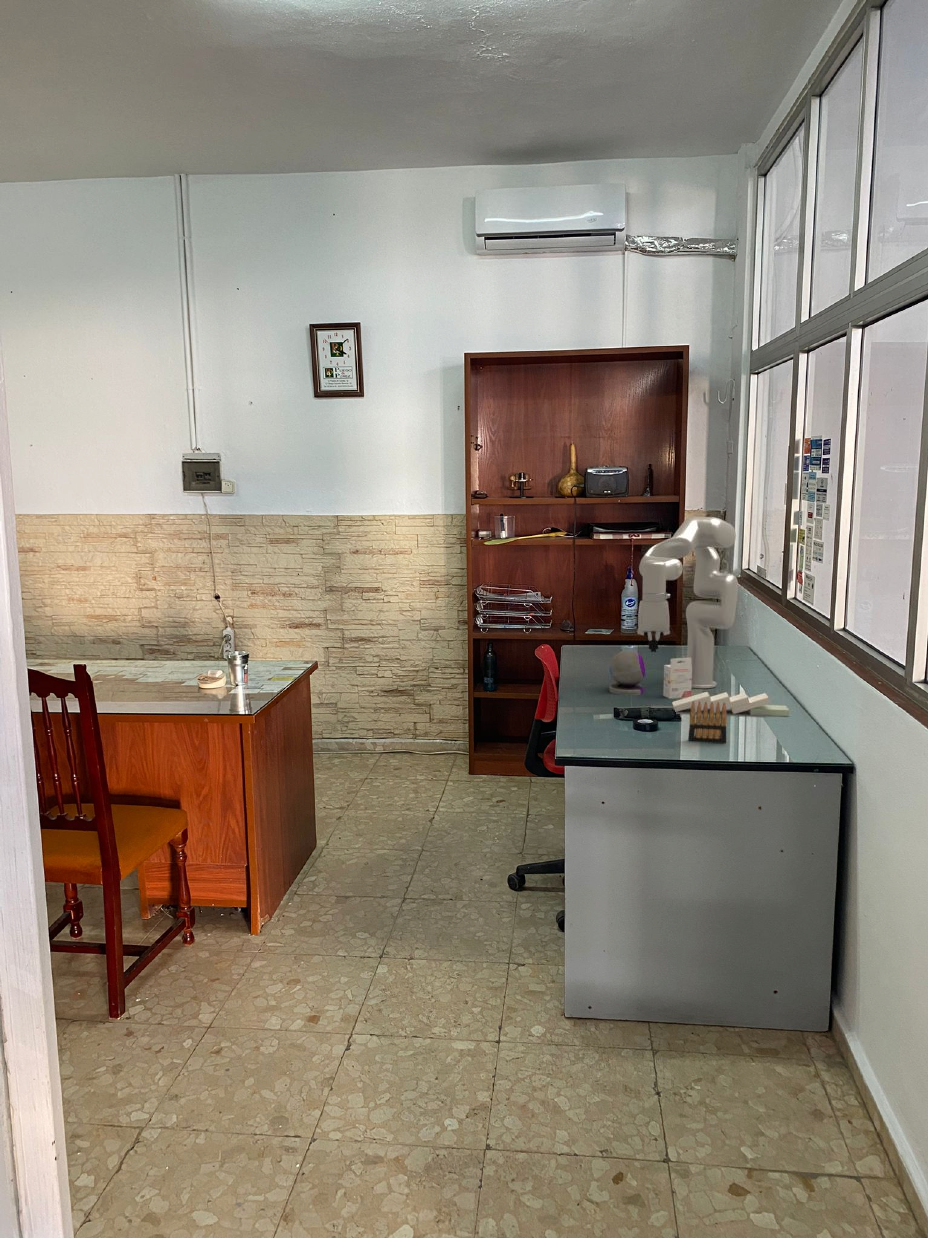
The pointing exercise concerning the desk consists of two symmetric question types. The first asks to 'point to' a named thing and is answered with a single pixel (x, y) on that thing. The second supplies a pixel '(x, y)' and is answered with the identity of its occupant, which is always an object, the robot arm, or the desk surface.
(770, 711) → the sage domino
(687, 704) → the cream domino
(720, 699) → the cream domino
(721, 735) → the ammunition clip
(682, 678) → the ink cartridge box
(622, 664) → the webcam
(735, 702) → the cream domino
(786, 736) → the desk surface
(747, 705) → the cream domino
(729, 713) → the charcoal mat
